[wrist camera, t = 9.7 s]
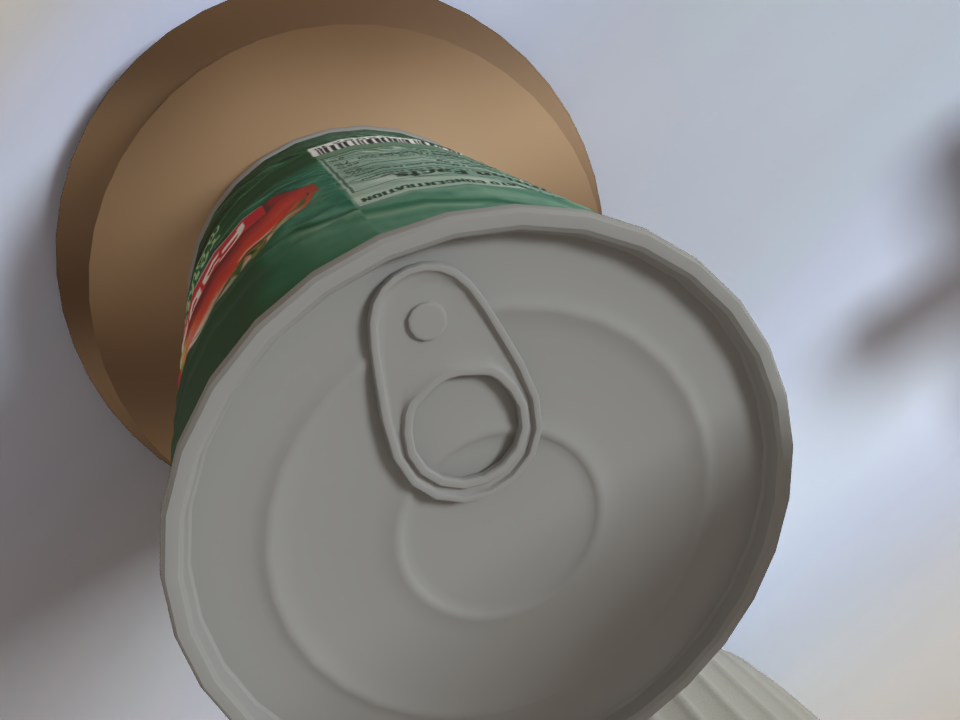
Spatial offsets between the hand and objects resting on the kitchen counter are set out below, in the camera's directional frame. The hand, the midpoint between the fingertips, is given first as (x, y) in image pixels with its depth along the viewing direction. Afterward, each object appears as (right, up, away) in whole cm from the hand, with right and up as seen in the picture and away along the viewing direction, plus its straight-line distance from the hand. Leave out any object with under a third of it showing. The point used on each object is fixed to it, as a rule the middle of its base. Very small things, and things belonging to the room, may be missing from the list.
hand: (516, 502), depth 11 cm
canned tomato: (-3, +3, +10) cm, 11 cm away
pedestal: (-4, +4, +13) cm, 14 cm away
